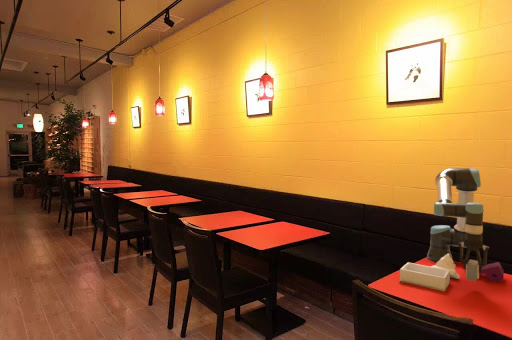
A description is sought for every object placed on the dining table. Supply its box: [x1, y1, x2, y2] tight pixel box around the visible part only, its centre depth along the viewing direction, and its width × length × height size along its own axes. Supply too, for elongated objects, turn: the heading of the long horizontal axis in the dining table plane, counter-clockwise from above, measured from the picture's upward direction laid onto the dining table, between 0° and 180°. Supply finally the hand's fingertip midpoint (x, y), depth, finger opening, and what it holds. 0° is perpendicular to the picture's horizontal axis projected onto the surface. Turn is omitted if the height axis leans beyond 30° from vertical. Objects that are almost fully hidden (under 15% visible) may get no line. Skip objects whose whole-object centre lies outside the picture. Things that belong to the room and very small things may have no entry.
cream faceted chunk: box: [430, 254, 461, 280], centre depth 194 cm, size 12×15×14 cm
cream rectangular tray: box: [399, 261, 451, 292], centre depth 183 cm, size 16×22×7 cm
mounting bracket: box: [464, 261, 505, 284], centre depth 191 cm, size 9×8×18 cm
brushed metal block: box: [466, 258, 479, 282], centre depth 171 cm, size 10×4×8 cm, turn 141°
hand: (472, 276), depth 171 cm, fingers closed on brushed metal block, 4 cm apart
